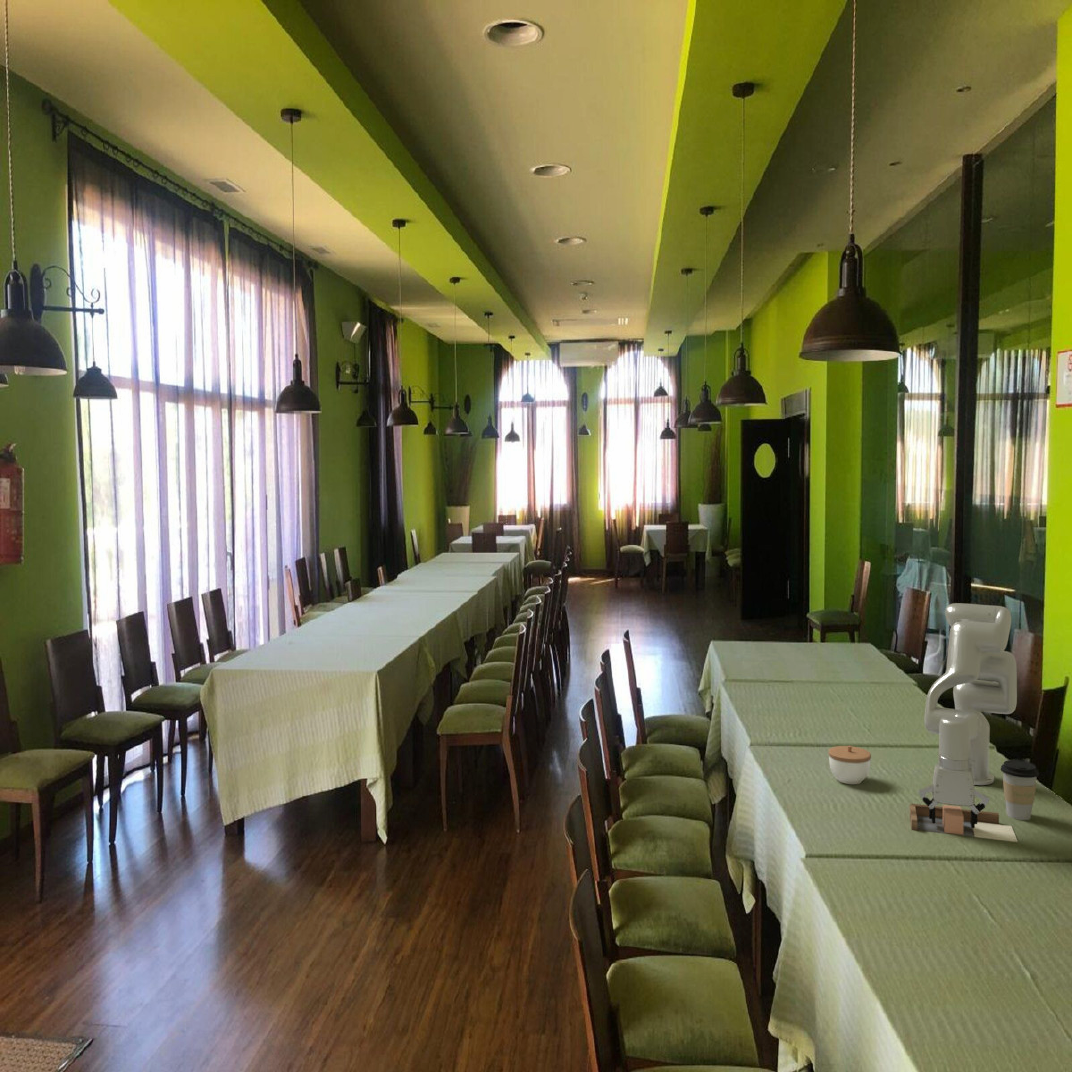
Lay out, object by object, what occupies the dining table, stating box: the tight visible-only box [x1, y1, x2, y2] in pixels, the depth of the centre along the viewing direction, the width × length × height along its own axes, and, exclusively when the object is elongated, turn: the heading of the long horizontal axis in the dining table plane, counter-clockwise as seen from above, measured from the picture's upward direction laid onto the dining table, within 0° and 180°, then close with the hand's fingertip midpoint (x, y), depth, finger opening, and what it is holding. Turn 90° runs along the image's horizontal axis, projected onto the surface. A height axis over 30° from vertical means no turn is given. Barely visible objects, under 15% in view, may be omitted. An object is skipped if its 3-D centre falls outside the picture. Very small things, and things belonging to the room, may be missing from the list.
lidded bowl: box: [828, 745, 872, 785], centre depth 272 cm, size 13×13×11 cm
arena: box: [909, 803, 1019, 843], centre depth 236 cm, size 12×26×3 cm, turn 69°
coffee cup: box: [1000, 759, 1040, 821], centre depth 242 cm, size 9×9×15 cm
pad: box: [972, 822, 1018, 843], centre depth 232 cm, size 10×10×1 cm
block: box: [942, 804, 964, 836], centre depth 235 cm, size 7×4×5 cm, turn 159°
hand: (952, 823), depth 235 cm, fingers open, 9 cm apart
